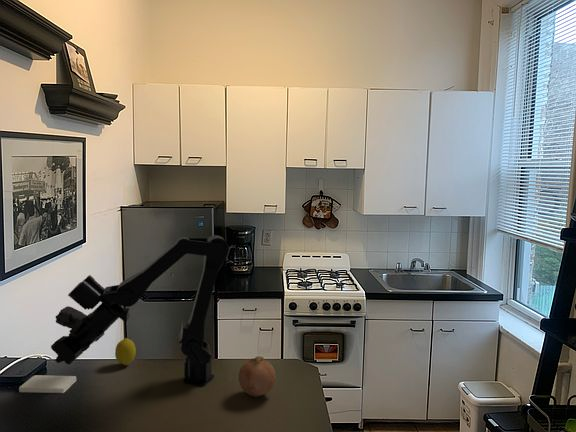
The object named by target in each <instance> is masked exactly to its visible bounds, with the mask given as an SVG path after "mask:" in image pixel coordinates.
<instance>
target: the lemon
mask: <svg viewBox="0 0 576 432" xmlns="http://www.w3.org/2000/svg"><path fill="white" fill-rule="evenodd" d="M136 350H137V349H136V345H135V343H134V342H133V340H132V339H129V338H127V337H124V338H123V339H122V340H120V341H119V342H118V343H117V344H116V346H115V352H114V353H115V355H114V356H115V359H116V361H117V362H118V363H119V364H122V365H124V366H127V365H128V364H130V363H131V362H133V361H134V359H135V358H136V352H137V351H136Z"/></svg>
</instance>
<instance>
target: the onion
mask: <svg viewBox="0 0 576 432" xmlns="http://www.w3.org/2000/svg"><path fill="white" fill-rule="evenodd" d="M276 380H277V377H276V372H275V368H274V367H273V365H272V364H271V363H270V362H269V361H268V360H265V358H264V357H262V356H260V355H259V356H255V357H254V358H251V359H248V360H247V361H246V362H245V363H244V364H242V366H241V367H240V369H239V372H238V381H239V386H240V388H241V389H242V390H243V392H245V393H247V394H248V395H249V396H250V397H257V398H258V397H259V398H260V396H263V395H266V394H268V393H269V392H270V391H271V390H273V389H274V387H275V384H276Z"/></svg>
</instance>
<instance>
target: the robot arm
mask: <svg viewBox="0 0 576 432" xmlns="http://www.w3.org/2000/svg"><path fill="white" fill-rule="evenodd" d="M229 251H230V249H229V243H227V241H226V240H225V239H224V237H222V236H221V235H216V234H215V235H211V236H209V237H186V236H181V237H179V238H178V239H177V240H176V241H175V243H173V244H172V245H171V246H170V247H169V248H168V249H166V250H165V251H164V252H163V253H161V255H159V256H158V257H157V258H156V259H155V260H153V261H152V262H151V263H150V264H149V265H148V266H146V267H145V268H144V269H142V270H141V271H139V272H137V273H135V274H133V275H131V276H129V277H127V278H126V279H124V280H123V281H121V282H120V283H119V284H118V285H116V284H114V285H110V286H106V287H103V286H102V285H101V284H100V283H99V282H97V281H96V280H95V278H94V277H93V276H92V275H91V274H90V275H88V276H86V278H84V279H83V280H82V281H80V282H79V283H78V284H77V285H76V286H74V288H73V289H72V290H71V291H69V293H68V294H67V296H68V297H69V298H70V299H71V300H73V301H74V302H75V303H77V304H78V305H79V306H80V307H81V308H83V309H84V310H90V309H91V310H93V309H94V308H95V309H94V310H93V311H92V312H90V313H89V314H88V315H87V314H85V313H84V312H83V311H80V310H78V309H76V308H74V307H73V306H69V305H68V306H65V307H64V308H62V309H60V310H59V312H58V314H56V315H55V319H56V320H55V323H56V324H58V325H59V326H61V327H64V328H65V327H66V328H68V329H70V330H69V331H68V332H69V334H68V335H64V336H61V337H60V338H58V339H57V340H56V341H54V343H53V344H51V345H50V348H51V350H52V351H53V352H54V353H55V354H56V355H57V356H56V358H55V360H54V361H55V362H56V363H57V364H60V363H62V362H64V363H65V364H66V365H71V364H72V363H73V362H74V361H75V360H77V359H78V358H79V357H80V356H81V355H83V353H84V352H86V351H87V350H88V349H89V348H90V347H91V345H92V344H93V343H94V342H95V343H96V342H98V341H99V340H100V339H101V338H102V337H103V336H104V335H105V332H106V331H107V330H108V329H109V328H110V327H111V326H112V325H113V324H115V322H117V320H118V319H120V320H122V321H123V322H125V323H127V322H128V320H129V317H130V310H131V309H130V307H133V306H135V304H137V302H138V301H139V300H140V299H141V298H142V297H143V295H145V293H146V291H147V290H148V289H149V287H150V286H151V285H152V284H153V283H154V282H155V281H157V279H158V278H159V277H161V276H162V275H163V274H164V273H166V271H168V270H169V269H170V268H171V267H172V266H173V265H175V264H176V263H178V261H179V260H180V259H182V258H183V257H184V256H185V255H187V254H188V255H197V256H202V257H203V268H202V273H201V275H200V280H199V283H198V286H197V291H196V294H195V298H194V302H193V306H192V309H191V310H192V311H191V314H190V316H189V319H188V321H187V322H185V321H181V327H180V328H181V329H180V330H179V331H180V332H179V333H178V335H177V336H178V344H180V350H181V352H182V354H183V355H185V356H186V357H185V362H184V366H183V370H184V371H183V373H184V375H183V376H184V378H183V379H182V380H181V382H182V383H184V384H190V385H195V386H199V387H204V386H205V385H206V384H208V383H209V382H210V381H212V380H213V379H214V378H215V375H214V374H212V372H213V371H212V368H213V367H212V366H213V365H212V363H213V361H212V360H213V357H212V354H211V350H210V346H209V345H210V344H209V343H208V342H207V341H206V340H205V321H206V318H207V315H208V310H209V306H210V304H211V299H212V295H213V291H214V288H215V284H216V281H217V277H218V273H219V271H220V270H221V268H222V266H223V265H224V263H225V261H226V258H227V257H228V254H229ZM98 304H99V305H98ZM97 305H98V306H97ZM96 306H97V307H96Z"/></svg>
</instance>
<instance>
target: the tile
mask: <svg viewBox="0 0 576 432" xmlns="http://www.w3.org/2000/svg"><path fill="white" fill-rule="evenodd" d="M76 382H77V376H75V375H46V374H45V375H41V374H39V375H38V374H37V375H36V374H35V375H32V376H31V377H30V378H29V379H28V380H26V381H25V382H24V383H23V384H22V385H20V386H19V388H18V391H19V392H18V393H42V394H43V393H46V394H47V393H48V394H64V393H65V392H66V391H68V389H70V387H72V386H73V384H74V383H76Z"/></svg>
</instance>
